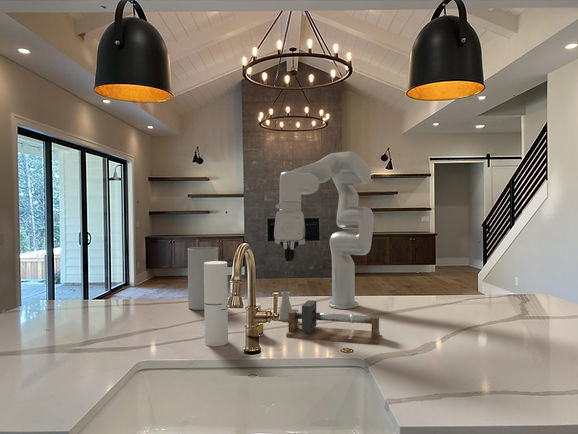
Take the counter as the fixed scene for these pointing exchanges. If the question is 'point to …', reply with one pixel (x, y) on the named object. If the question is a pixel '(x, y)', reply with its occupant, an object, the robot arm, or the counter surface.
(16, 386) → the counter surface
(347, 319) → the steel pipe
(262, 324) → the supplement bottle
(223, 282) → the cylindrical container
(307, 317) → the rubber collar
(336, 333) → the pipe stand
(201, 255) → the cylinder vase
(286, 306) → the flask
